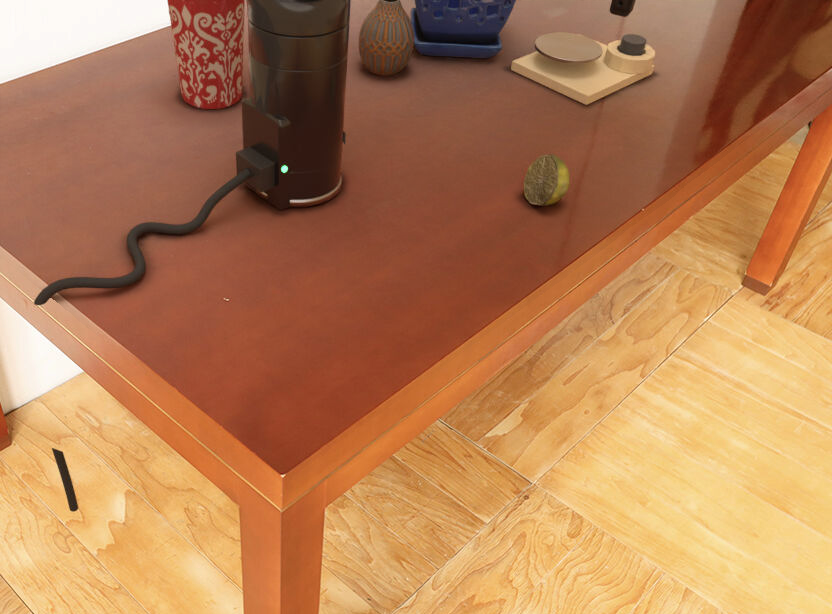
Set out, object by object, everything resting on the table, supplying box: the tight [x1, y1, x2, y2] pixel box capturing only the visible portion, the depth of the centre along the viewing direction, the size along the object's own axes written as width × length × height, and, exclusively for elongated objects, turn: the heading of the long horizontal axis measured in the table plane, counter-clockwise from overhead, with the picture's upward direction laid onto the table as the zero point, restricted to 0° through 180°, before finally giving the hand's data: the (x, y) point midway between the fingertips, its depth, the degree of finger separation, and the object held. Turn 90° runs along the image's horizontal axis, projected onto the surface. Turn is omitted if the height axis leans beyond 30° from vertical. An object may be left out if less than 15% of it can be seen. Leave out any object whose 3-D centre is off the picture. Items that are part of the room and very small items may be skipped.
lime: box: [523, 154, 571, 207], centre depth 86 cm, size 4×5×5 cm
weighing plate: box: [534, 31, 603, 64], centre depth 107 cm, size 8×8×1 cm
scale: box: [510, 33, 656, 106], centre depth 109 cm, size 14×12×3 cm
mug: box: [167, 0, 246, 110], centre depth 98 cm, size 13×9×14 cm
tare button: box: [619, 33, 647, 56], centre depth 108 cm, size 3×3×2 cm
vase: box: [358, 0, 415, 77], centre depth 105 cm, size 7×7×9 cm
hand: (620, 13), depth 94 cm, fingers closed
